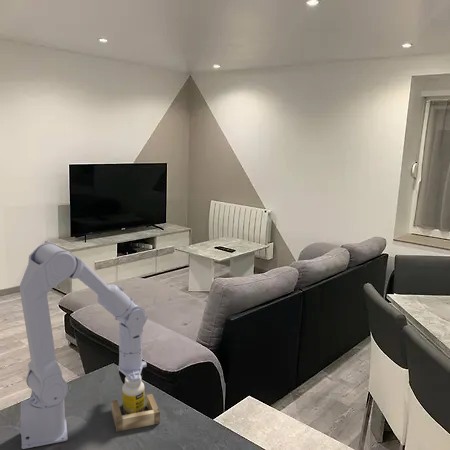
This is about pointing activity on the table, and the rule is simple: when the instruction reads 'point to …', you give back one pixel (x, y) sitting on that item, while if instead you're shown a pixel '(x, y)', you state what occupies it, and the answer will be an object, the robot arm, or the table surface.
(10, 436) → the table surface
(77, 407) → the table surface
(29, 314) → the robot arm
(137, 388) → the supplement bottle
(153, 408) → the dock
